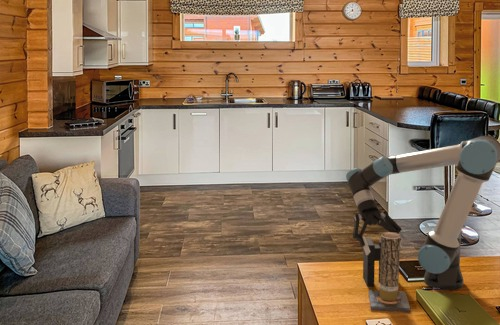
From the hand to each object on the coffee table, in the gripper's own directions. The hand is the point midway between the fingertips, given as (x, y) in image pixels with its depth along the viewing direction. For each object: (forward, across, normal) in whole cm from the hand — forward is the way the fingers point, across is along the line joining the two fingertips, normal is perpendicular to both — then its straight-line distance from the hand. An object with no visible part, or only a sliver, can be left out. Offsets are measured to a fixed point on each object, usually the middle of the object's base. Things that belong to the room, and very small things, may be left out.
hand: (384, 251), depth 186 cm
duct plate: (+16, 0, -12) cm, 20 cm away
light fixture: (+4, -8, -25) cm, 26 cm away
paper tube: (+15, 0, -11) cm, 18 cm away
